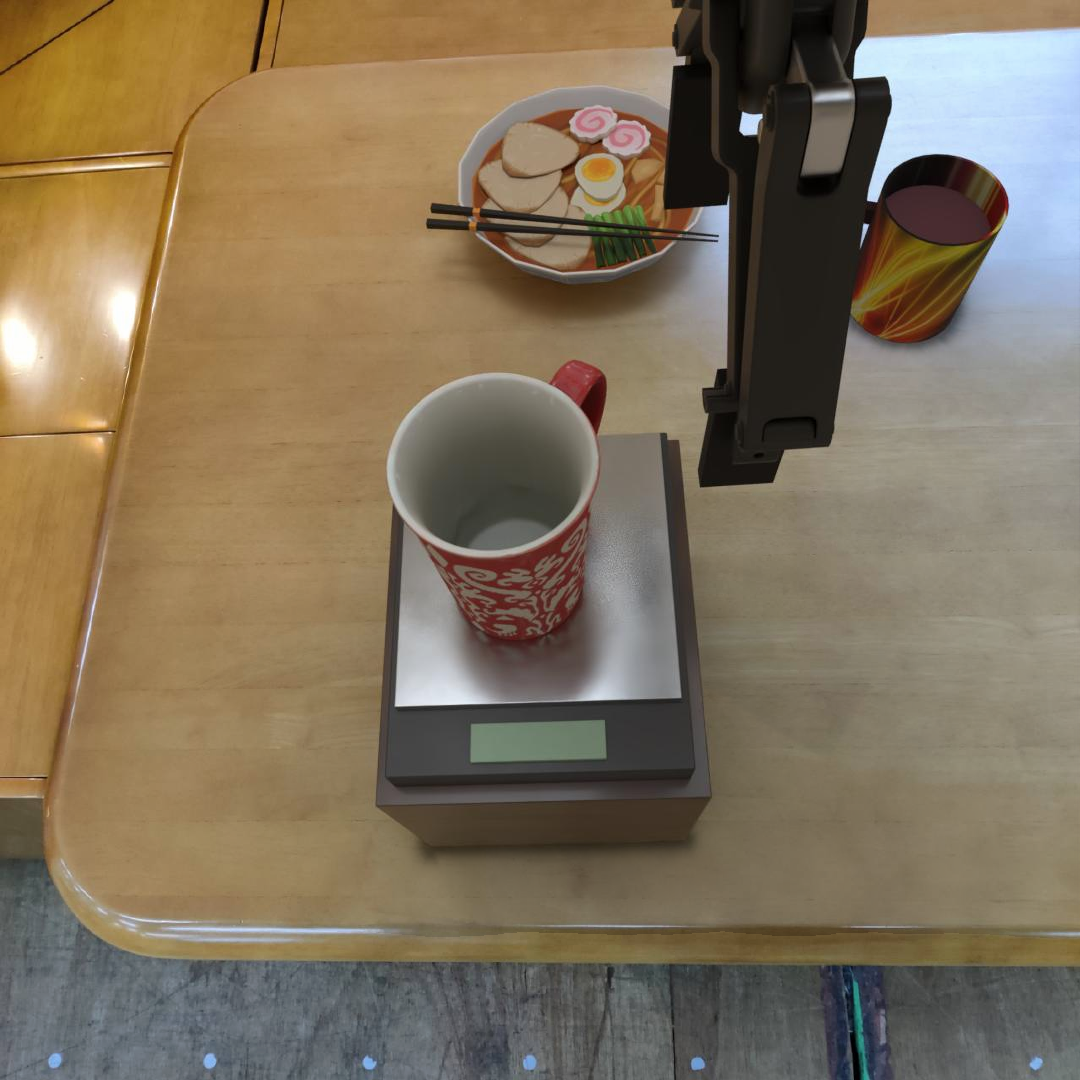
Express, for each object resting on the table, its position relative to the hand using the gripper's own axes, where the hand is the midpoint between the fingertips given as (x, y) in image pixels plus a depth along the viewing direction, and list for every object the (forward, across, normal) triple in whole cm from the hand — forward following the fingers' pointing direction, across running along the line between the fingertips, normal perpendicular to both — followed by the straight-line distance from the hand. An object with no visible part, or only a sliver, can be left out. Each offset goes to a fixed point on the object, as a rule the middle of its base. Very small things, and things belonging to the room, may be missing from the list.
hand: (713, 329), depth 37 cm
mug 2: (+38, -30, +22) cm, 54 cm away
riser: (+38, +4, -8) cm, 39 cm away
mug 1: (+17, +2, -8) cm, 19 cm away
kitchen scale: (+20, +4, -8) cm, 22 cm away
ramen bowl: (+38, -41, -3) cm, 56 cm away
